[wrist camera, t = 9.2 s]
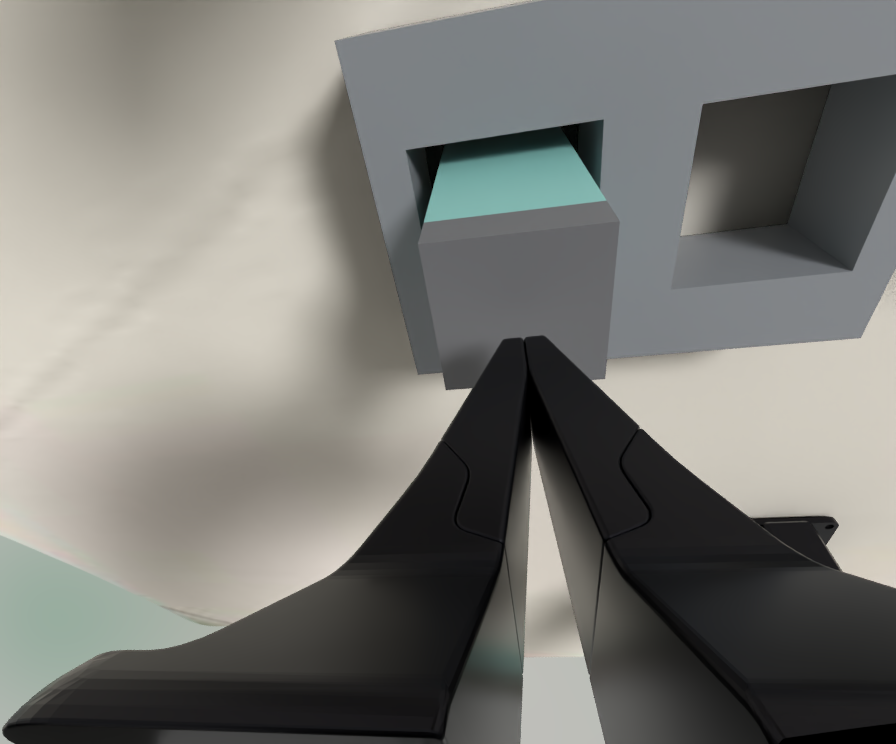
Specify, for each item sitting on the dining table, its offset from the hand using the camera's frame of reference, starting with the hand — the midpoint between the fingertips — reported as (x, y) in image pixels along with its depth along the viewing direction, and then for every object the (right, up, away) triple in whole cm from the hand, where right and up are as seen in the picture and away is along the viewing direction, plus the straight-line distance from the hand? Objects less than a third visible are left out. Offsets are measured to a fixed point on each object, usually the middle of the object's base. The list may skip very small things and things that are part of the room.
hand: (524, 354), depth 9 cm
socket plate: (+4, +7, +8) cm, 11 cm away
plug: (+1, +7, +8) cm, 10 cm away
